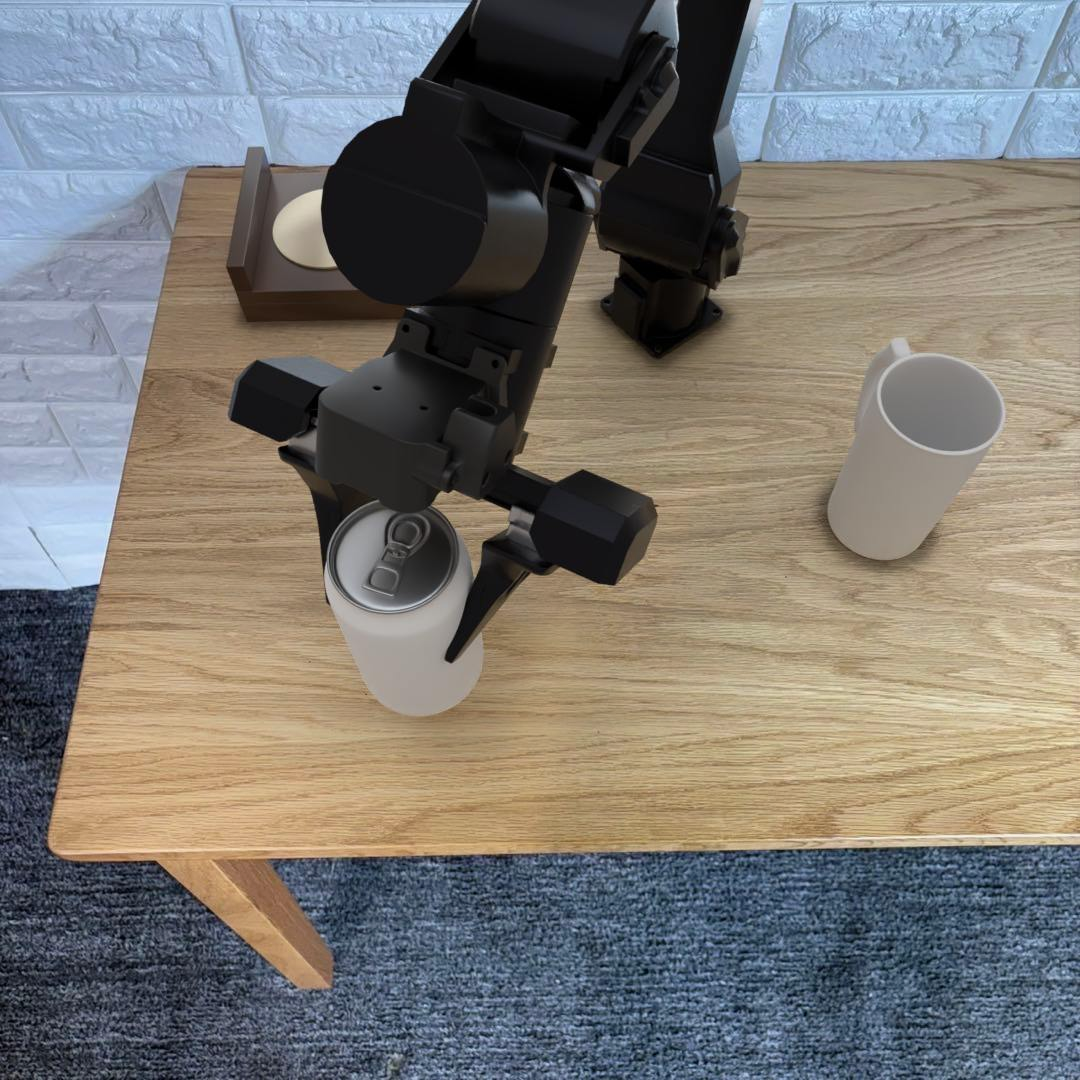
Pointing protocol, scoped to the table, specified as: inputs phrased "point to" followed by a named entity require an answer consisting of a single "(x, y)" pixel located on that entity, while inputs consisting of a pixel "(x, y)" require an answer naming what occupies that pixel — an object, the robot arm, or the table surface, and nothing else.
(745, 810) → the table surface
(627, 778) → the table surface
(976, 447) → the mug
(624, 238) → the robot arm
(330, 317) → the coaster holder tray
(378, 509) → the can
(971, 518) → the table surface
